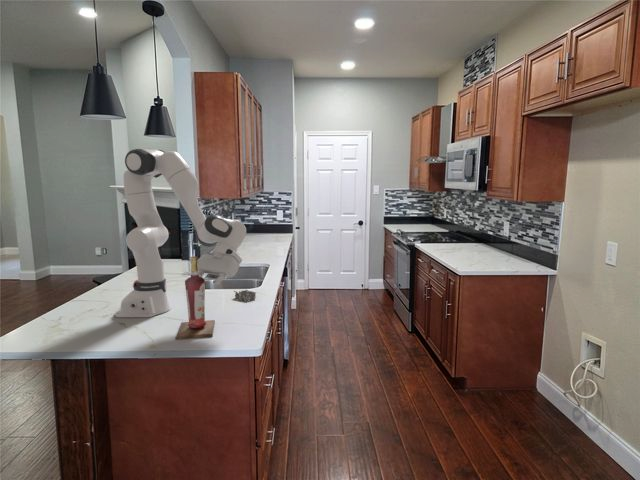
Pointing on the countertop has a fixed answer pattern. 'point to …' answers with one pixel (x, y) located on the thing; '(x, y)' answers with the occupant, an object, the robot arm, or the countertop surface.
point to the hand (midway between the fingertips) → (206, 282)
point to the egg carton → (245, 295)
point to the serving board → (195, 330)
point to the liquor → (195, 297)
